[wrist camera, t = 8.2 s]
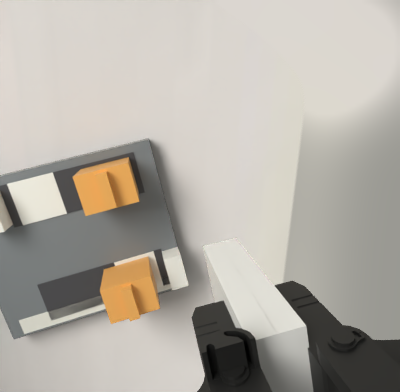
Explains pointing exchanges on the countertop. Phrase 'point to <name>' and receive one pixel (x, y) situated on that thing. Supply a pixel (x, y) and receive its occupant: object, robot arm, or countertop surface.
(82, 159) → the switch board
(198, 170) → the countertop surface
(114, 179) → the tab front
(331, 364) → the robot arm
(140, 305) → the tab back
